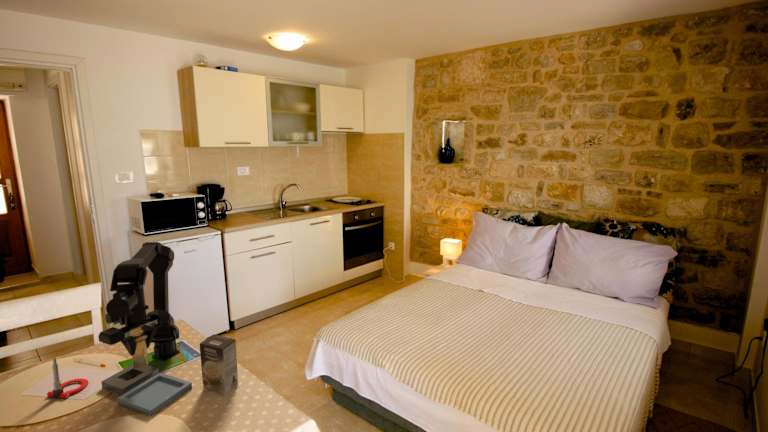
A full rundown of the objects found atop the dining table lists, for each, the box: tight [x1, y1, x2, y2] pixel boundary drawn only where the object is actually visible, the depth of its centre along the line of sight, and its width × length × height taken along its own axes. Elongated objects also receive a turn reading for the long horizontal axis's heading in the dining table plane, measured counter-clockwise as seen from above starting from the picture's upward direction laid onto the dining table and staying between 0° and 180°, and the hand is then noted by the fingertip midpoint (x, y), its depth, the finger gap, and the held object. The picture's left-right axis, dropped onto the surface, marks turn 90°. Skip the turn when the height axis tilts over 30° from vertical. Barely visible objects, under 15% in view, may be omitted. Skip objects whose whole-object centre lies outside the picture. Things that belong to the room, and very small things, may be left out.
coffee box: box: [199, 333, 239, 396], centre depth 121 cm, size 9×6×16 cm
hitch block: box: [101, 364, 160, 396], centre depth 125 cm, size 12×10×2 cm
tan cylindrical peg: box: [130, 331, 149, 369], centre depth 118 cm, size 5×5×10 cm
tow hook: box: [46, 356, 89, 400], centre depth 120 cm, size 8×13×9 cm
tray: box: [116, 372, 193, 417], centre depth 118 cm, size 14×14×2 cm
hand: (139, 351), depth 118 cm, fingers closed on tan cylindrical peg, 4 cm apart
